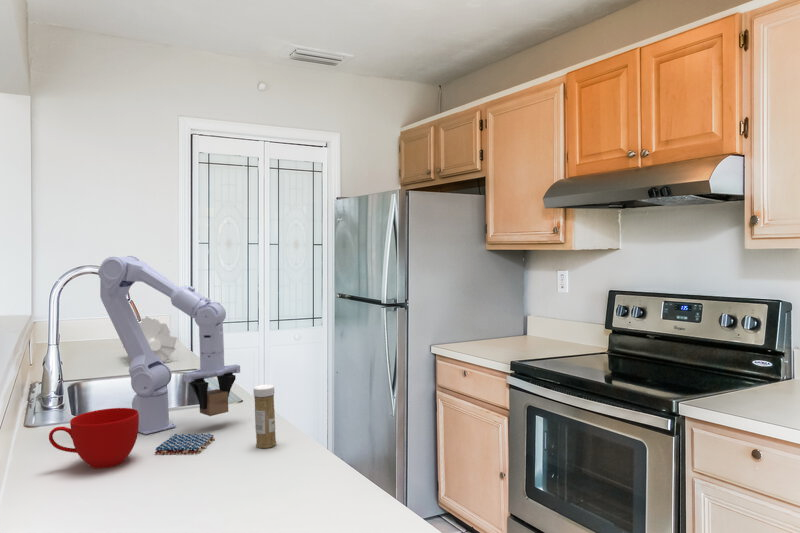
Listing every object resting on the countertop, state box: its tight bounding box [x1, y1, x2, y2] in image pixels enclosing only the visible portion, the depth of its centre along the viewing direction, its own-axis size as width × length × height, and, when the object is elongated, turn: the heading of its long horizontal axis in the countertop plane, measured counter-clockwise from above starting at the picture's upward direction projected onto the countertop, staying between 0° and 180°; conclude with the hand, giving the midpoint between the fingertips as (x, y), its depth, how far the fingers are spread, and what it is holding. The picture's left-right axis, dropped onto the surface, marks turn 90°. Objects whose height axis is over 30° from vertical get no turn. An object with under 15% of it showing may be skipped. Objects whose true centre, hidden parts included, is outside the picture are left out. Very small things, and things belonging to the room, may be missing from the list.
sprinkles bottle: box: [253, 384, 277, 449], centre depth 134 cm, size 5×5×14 cm
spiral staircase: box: [122, 316, 178, 362], centre depth 245 cm, size 18×18×25 cm
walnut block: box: [199, 388, 229, 417], centre depth 149 cm, size 5×5×5 cm
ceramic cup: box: [48, 407, 139, 469], centre depth 126 cm, size 13×17×10 cm
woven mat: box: [154, 433, 216, 456], centre depth 135 cm, size 10×11×2 cm
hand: (213, 406), depth 149 cm, fingers closed on walnut block, 5 cm apart
